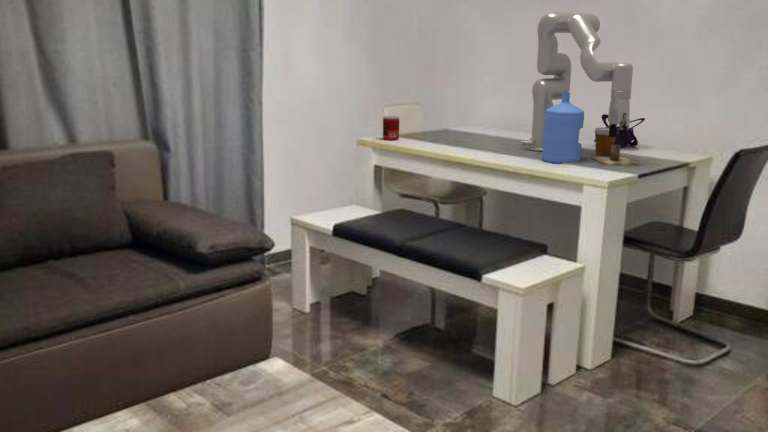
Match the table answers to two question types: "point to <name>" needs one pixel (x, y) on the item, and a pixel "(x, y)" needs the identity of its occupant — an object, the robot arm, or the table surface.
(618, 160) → the oak lid
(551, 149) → the water jug
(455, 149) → the table surface
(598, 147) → the disposable coffee cup
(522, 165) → the table surface
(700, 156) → the table surface
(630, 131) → the decorative bottle
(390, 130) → the canned food
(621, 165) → the rubber mat
